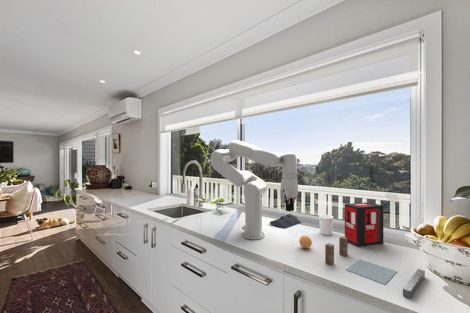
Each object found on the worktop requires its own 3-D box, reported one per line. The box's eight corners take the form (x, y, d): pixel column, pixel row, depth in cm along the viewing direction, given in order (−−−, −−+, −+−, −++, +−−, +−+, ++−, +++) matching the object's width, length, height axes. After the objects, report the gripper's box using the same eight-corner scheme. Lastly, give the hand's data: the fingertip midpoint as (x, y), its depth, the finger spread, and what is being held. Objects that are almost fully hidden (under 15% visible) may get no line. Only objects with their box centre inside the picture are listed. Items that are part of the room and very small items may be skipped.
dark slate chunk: (265, 224, 154) (265, 217, 154) (284, 218, 169) (284, 212, 169) (285, 230, 143) (285, 222, 143) (303, 223, 158) (303, 216, 158)
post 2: (339, 254, 107) (339, 237, 107) (341, 253, 108) (341, 236, 108) (345, 256, 105) (345, 239, 105) (347, 254, 106) (347, 237, 106)
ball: (296, 247, 115) (296, 235, 115) (303, 244, 119) (303, 233, 119) (307, 251, 110) (307, 239, 110) (314, 248, 114) (314, 236, 114)
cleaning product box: (369, 237, 128) (369, 202, 128) (383, 243, 119) (383, 205, 119) (344, 240, 124) (344, 204, 124) (357, 247, 115) (357, 207, 115)
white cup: (316, 232, 138) (316, 215, 138) (326, 230, 141) (326, 214, 141) (325, 236, 131) (325, 218, 130) (336, 234, 133) (336, 217, 133)
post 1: (325, 263, 98) (325, 244, 98) (328, 261, 100) (328, 243, 100) (331, 265, 96) (331, 246, 96) (334, 263, 98) (334, 244, 98)
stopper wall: (403, 296, 75) (403, 288, 75) (418, 275, 88) (418, 268, 88) (410, 299, 74) (410, 291, 74) (424, 277, 87) (424, 270, 86)
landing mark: (345, 269, 92) (345, 269, 92) (359, 259, 101) (359, 259, 101) (385, 284, 82) (385, 284, 82) (397, 271, 91) (397, 271, 91)
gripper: (292, 174, 130) (292, 207, 130) (274, 176, 119) (274, 211, 119) (304, 175, 124) (304, 209, 124) (286, 177, 114) (286, 214, 114)
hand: (289, 210), depth 122 cm, fingers closed
